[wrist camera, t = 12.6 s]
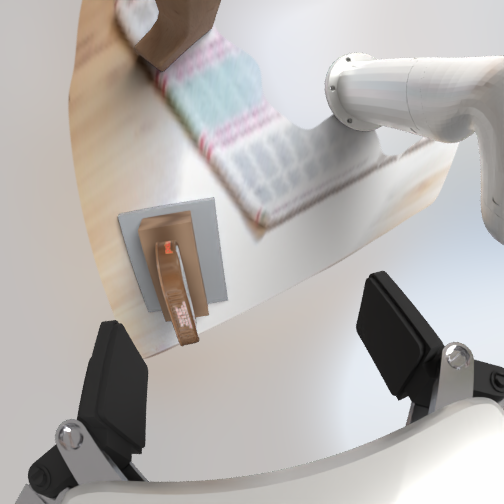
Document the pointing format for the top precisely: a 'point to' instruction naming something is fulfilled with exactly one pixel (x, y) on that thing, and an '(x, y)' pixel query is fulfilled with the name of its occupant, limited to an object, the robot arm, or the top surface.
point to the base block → (183, 233)
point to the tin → (176, 291)
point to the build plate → (205, 242)
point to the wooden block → (176, 30)
